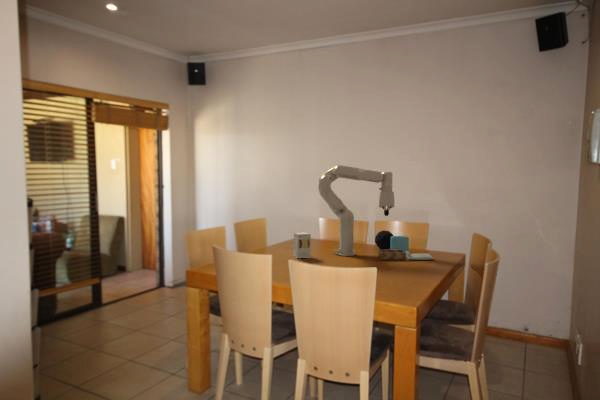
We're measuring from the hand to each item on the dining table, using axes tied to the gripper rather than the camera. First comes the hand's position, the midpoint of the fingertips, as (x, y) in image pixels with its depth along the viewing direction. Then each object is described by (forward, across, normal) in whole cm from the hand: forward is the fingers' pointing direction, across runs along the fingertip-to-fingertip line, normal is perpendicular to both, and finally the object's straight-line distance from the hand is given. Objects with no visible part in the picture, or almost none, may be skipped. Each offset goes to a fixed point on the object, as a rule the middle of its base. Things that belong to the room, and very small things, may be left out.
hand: (386, 215), depth 294 cm
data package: (+27, +10, +3) cm, 29 cm away
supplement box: (+27, -59, -12) cm, 66 cm away
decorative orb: (+27, +2, +16) cm, 32 cm away
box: (+27, +1, -16) cm, 31 cm away
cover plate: (+27, +19, -15) cm, 36 cm away
